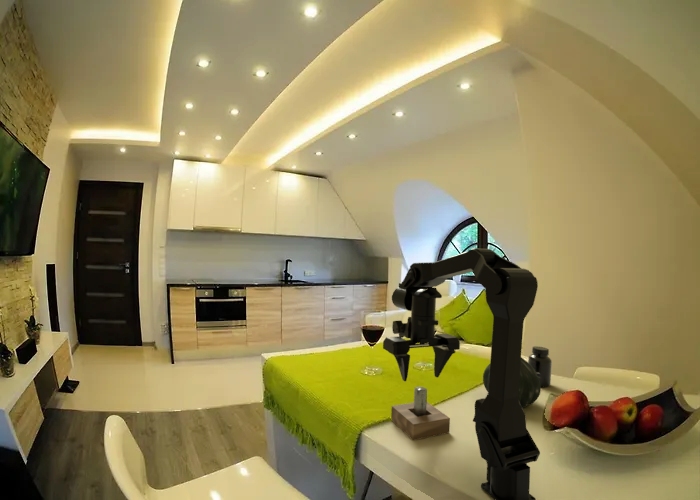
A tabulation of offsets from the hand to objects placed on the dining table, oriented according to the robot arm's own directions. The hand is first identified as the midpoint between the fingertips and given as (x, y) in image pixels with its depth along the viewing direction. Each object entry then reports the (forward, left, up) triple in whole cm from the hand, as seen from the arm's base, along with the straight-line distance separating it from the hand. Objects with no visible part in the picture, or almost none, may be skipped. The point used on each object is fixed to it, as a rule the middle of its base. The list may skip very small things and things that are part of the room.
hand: (420, 378), depth 86 cm
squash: (+4, -34, -12) cm, 36 cm away
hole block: (0, 0, -11) cm, 11 cm away
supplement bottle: (+12, -55, -12) cm, 57 cm away
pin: (0, 0, -12) cm, 12 cm away
